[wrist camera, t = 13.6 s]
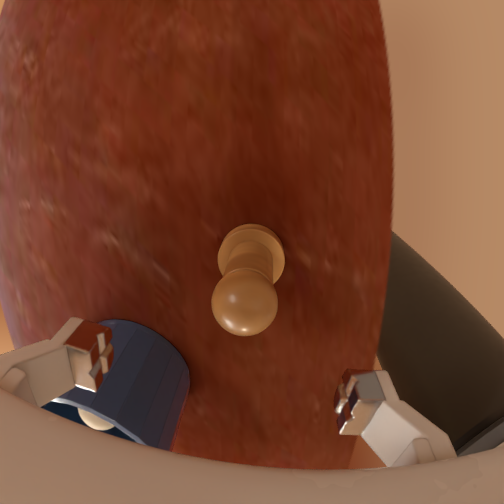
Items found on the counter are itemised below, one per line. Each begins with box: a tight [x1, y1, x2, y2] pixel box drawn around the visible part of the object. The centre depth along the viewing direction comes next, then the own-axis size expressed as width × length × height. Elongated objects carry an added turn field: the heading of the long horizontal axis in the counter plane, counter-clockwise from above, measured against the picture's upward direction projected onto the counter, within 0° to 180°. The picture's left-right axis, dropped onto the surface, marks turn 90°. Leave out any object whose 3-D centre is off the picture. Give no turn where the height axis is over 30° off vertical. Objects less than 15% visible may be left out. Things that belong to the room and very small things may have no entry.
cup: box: [41, 319, 190, 452], centre depth 20 cm, size 10×10×9 cm
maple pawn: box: [211, 224, 285, 336], centre depth 17 cm, size 4×4×8 cm
